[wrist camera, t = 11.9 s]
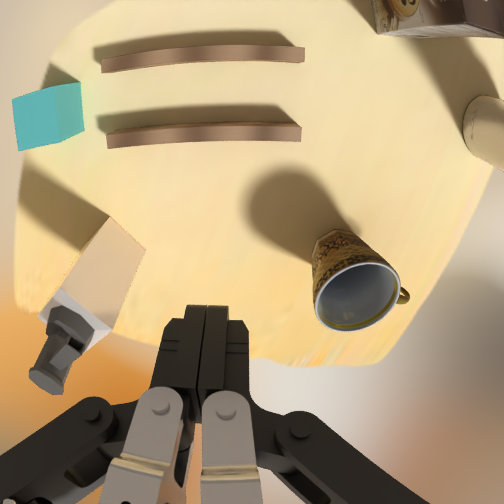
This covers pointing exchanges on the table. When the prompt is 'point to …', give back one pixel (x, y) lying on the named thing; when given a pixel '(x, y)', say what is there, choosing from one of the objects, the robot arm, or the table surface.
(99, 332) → the soap dispenser
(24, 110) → the block
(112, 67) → the chute
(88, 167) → the table surface
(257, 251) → the table surface
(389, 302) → the ceramic cup
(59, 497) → the robot arm
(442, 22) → the coffee box
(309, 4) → the table surface
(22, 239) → the table surface
